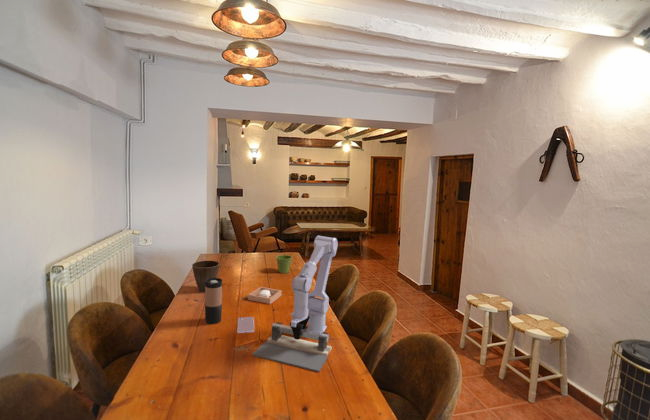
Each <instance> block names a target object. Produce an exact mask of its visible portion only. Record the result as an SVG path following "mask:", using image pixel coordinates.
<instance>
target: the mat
mask: <svg viewBox="0 0 650 420" xmlns="http://www.w3.org/2000/svg"><path fill="white" fill-rule="evenodd" d="M251 355H252V356H254V357H257V358H262V359H266V360H270V361H272V362H278V363H282V364H285V365H289V366H294V367H298V368H301V369H305V370H309V371H312V372H317V373H320V372H321V370H322V369H323V366H324V365H325V363H326V362H327V360H328V356H323V355H319V354H315V353H311V352H306V351H302V350H298V349H294V348H289V347H285V346H281V345H277V344H272V343H268V342H267V341H264V342H263V343H262V344H261V345H260V346H259V347H258V348H257V349H256V350H254V352H253V353H252V354H251Z"/></svg>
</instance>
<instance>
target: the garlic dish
mask: <svg viewBox="0 0 650 420" xmlns="http://www.w3.org/2000/svg"><path fill="white" fill-rule="evenodd" d="M262 290H268V291H270V294H271V296H270V297H269V298H267V297H262V296H259V293H260V291H262ZM282 293H283V292H282V290H280V289H275V288H269V287H264V286H260V287H258V288H256V289H254V290H253V291H252V292H250V293H248V294H247V301H251V302H258V303H261V304H262V303H263V304H268V305H271V304H273V302H275V301H276V300H277V299H279V298H280V297H282Z"/></svg>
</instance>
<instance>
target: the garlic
mask: <svg viewBox="0 0 650 420" xmlns="http://www.w3.org/2000/svg"><path fill="white" fill-rule="evenodd" d="M258 296H262V297H267V298H270V297H272V294H270V291H268V290H262V291H260V293H259V294H258Z"/></svg>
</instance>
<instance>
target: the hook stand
mask: <svg viewBox="0 0 650 420" xmlns="http://www.w3.org/2000/svg"><path fill="white" fill-rule="evenodd" d="M275 323H276V324H281V325H283V323H282V322H278V321H277V322H275ZM282 333H283V332H278V327H275V326H272V325H271V335H270V336H269V337H268V338H267V339H266V342H268V343H272V344H276V345H281V346H285V347H289V348H293V349H298V350H302V351H306V352H310V353H315V354H319V355H323V356H327V357H328V356H329V354H330V352H331V350H332V348H333V347H332V346H331V345H328V341H327V342H325V337H321V336H319V339H318V340H317V342H314V341H310V340H305V339H302V338H300V339H299V340H297V339H294V336H293V337H292V336H289V335H288V336H287V335H283V334H282ZM322 333H323V334H328V335H329V332H327V331H326V332H325V331H324V332H322Z"/></svg>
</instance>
